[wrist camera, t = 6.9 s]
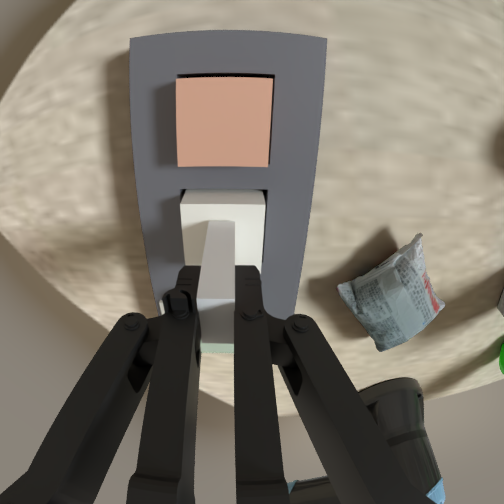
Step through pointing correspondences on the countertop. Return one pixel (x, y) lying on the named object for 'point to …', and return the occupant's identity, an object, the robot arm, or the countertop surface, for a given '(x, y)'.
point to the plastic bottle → (502, 359)
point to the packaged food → (394, 297)
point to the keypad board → (228, 177)
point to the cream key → (224, 209)
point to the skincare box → (501, 304)
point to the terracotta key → (223, 121)
